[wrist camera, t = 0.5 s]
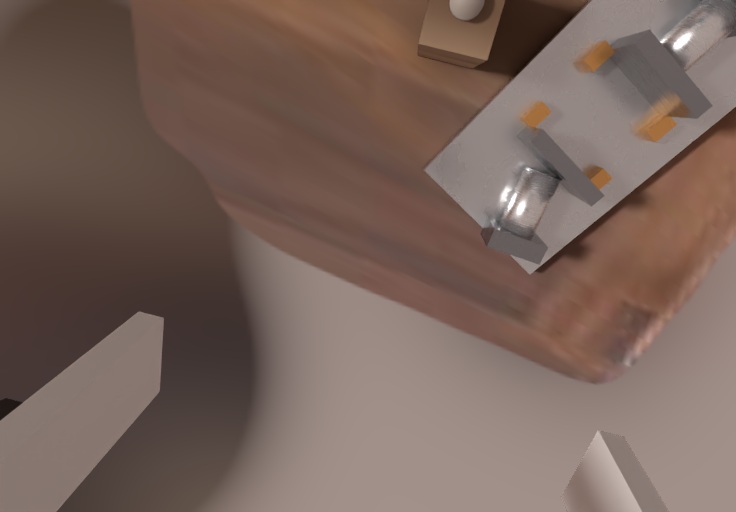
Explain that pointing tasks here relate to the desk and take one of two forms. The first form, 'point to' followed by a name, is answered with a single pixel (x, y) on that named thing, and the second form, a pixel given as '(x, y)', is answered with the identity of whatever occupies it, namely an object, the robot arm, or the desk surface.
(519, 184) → the shaft
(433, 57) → the block
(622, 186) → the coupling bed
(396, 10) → the desk surface
